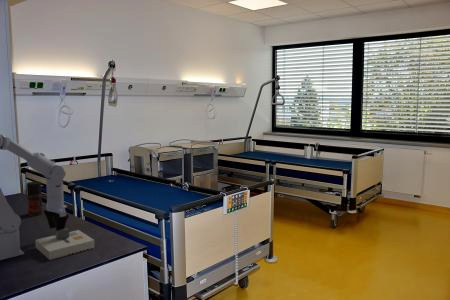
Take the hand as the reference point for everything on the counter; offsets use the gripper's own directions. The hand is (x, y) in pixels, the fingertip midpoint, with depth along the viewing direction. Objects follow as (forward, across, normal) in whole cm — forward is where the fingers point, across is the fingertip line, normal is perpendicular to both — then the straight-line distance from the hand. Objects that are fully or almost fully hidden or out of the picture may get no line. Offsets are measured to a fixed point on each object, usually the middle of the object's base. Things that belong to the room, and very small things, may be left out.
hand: (56, 230), depth 144 cm
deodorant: (+5, +41, -5) cm, 41 cm away
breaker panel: (+4, -8, 0) cm, 9 cm away
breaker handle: (+1, -6, 0) cm, 6 cm away
